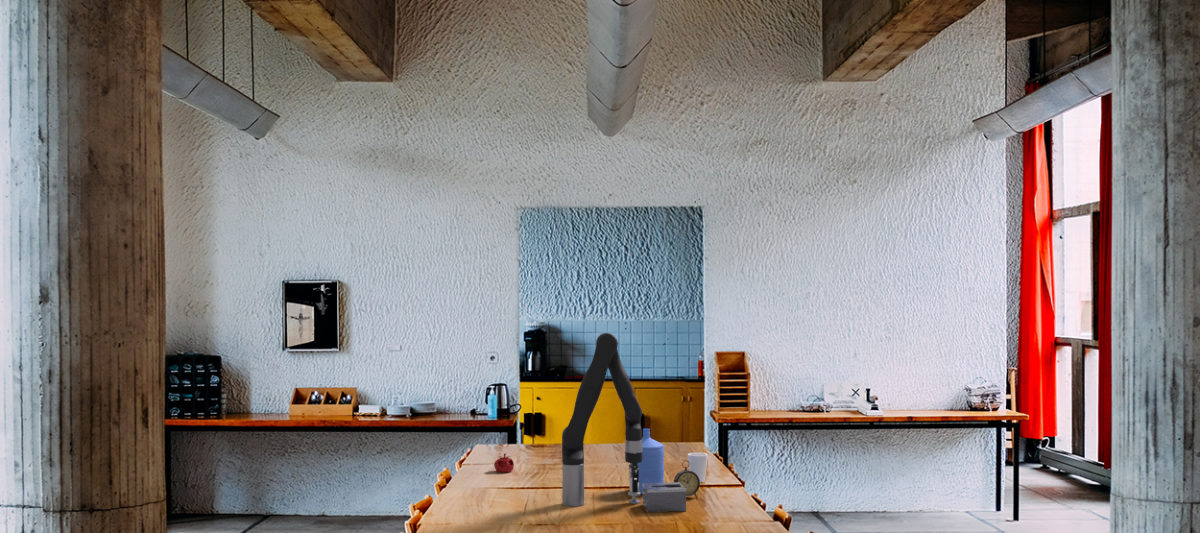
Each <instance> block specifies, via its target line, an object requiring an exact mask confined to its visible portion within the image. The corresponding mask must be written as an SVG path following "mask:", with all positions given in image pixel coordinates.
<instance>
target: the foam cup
mask: <svg viewBox="0 0 1200 533" xmlns="http://www.w3.org/2000/svg"><path fill="white" fill-rule="evenodd" d="M708 460H709V455H708V453H705V452H689V453H687V461H688V462H689V463H688V462H687V463H688V465H689V467H688V468H689V471H692V472H694V473H696V474H697V476H698V477H699V480H700V482H704V481H706V473H707V467H708ZM704 483H705V482H704Z"/></svg>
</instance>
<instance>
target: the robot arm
mask: <svg viewBox="0 0 1200 533" xmlns="http://www.w3.org/2000/svg"><path fill="white" fill-rule="evenodd" d="M618 346H619V343H618V339H617V338H616V336H615V335H614V334H612V333H610V332H609V333H608V332H604V333H601V334H599V335H598V336H597V338H596V341H595V349H594V354H593V357H592V360H591V363H590V365H589V367H588V368H587V370H586V372H585V373H584V376H583V378H582V380H581V382H580V385H579V388H578V391H577V394H576V398H575V404H574V408H573V411H572V412H573V413H572V415H571V418H570V421H569V423H568V425H567V426H566V427H565V428H564V429H563V431H562V433H561V460H562V463H561V464H562V480H561V487H562V490H561V494H562V496H561V497H562V501H561V503H562V506H564V507H580V506H583V505H585V455H584V454H585V452H584V447H585V445H584V440H585V436H586V431H587V427H588V424H589V421H590V419H591V416H592V414H593V412H594V410H595V408H596V405H597V403H598V401H599V397H600V395H601V393H602V391H603V386H604V383H605V381H606V380H605V379H606V376H607V373H608V372H607V371H608V370H609V374H610V377H611V379H612V382H613V386H614V389H615V391H616V394H617V396H618V399H619V400H620V403H621V405H622V407H623V411H624V421H625V432H624V433H625V436H624V437H625V444H624V453H625V454H624V461H625V462H626V463H628V464H629V465H628V470H629V473H628V475H629V478H632V492H638V483H639V467H638V465H637V463H640V462H642V461H643V447H642V438H643V429H642V426H641V422H642V421H641V420H642V419H641V418H642V414H643V410H642V408H641V406H640V402H639V401H638V399H637V397H636V394H635V390H634V388H633V386H632V383H631V380H630V378H629V376H628V374H627V372H626V369H625V367H624V365H623V363H622V359H621V357H620V354H619V350H618ZM634 478H636V480H634Z"/></svg>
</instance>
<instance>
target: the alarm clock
mask: <svg viewBox="0 0 1200 533" xmlns="http://www.w3.org/2000/svg"><path fill="white" fill-rule="evenodd" d="M685 462H687V463H688V466H684V463H685ZM682 467H683V468H684V469H683V470H680V471H679V472H677V473H676V474H675V476H674V478H673V482H680V483H681V484H682V485H683V486H684V488H685V489H686V497H691V496H695V498H698V495H697V492H698V490H699V489H700V484H701V483H700V480H699V477H698V476H697V474H696V473H694V472H692V471H690V469H689V470H688V468H689V462H688V459H685V460H683V462H682Z"/></svg>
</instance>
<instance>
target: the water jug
mask: <svg viewBox="0 0 1200 533" xmlns="http://www.w3.org/2000/svg"><path fill="white" fill-rule="evenodd" d="M650 430H651V428H643V429H642V447H643V461H642V462H640V463H637V465H638V467H639V492H640V495H643V490H642V483H665V476H664V474H665V473H664V472H665V465H664V464H665V463H664V458H665V457H664V454H665V448H664V444H663V443H661V442H659V441H657V440H655V439H653V438H651V432H650Z"/></svg>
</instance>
